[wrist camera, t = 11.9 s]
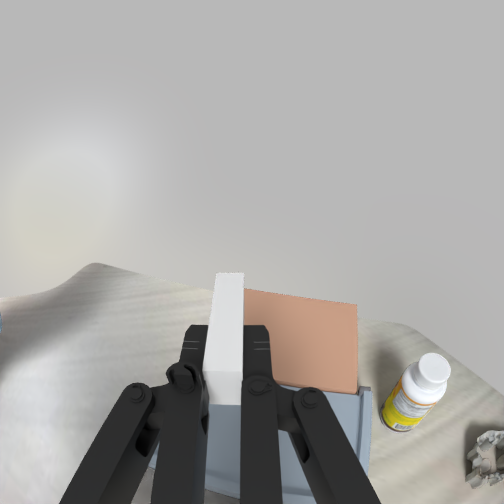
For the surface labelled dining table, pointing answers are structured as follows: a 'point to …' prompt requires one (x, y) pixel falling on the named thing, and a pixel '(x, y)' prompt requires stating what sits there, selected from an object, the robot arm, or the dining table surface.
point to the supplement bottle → (416, 393)
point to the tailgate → (308, 340)
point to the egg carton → (485, 460)
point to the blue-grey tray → (280, 446)
